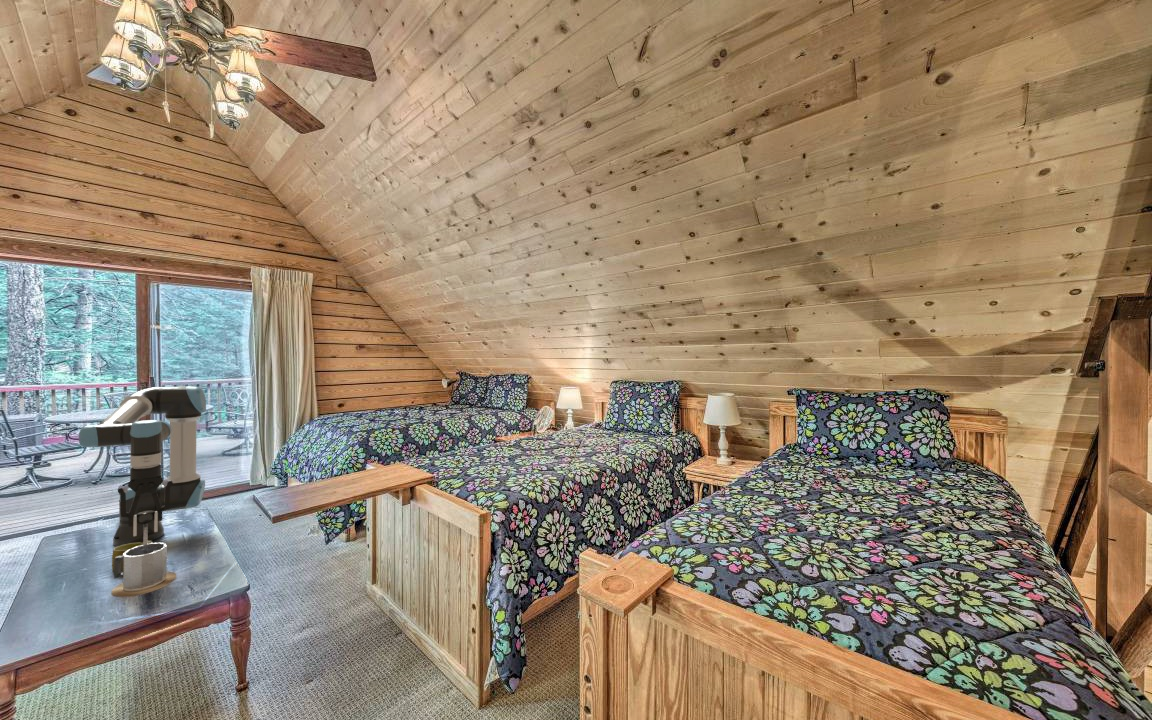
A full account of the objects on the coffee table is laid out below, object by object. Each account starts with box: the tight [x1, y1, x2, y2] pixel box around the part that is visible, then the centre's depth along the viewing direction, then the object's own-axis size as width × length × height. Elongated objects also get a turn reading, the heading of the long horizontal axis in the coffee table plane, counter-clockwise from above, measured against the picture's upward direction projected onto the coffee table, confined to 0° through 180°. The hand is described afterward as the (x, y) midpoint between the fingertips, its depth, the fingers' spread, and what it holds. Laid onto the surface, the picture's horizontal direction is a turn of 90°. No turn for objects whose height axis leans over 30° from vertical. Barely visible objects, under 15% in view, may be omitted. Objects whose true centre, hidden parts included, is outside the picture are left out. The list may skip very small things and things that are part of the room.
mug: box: [111, 540, 154, 573], centre depth 159 cm, size 12×10×10 cm
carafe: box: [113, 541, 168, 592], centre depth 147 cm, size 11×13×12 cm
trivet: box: [110, 571, 178, 598], centre depth 147 cm, size 16×16×1 cm
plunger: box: [137, 510, 155, 555], centre depth 147 cm, size 7×7×20 cm
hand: (145, 532), depth 147 cm, fingers closed on plunger, 4 cm apart
